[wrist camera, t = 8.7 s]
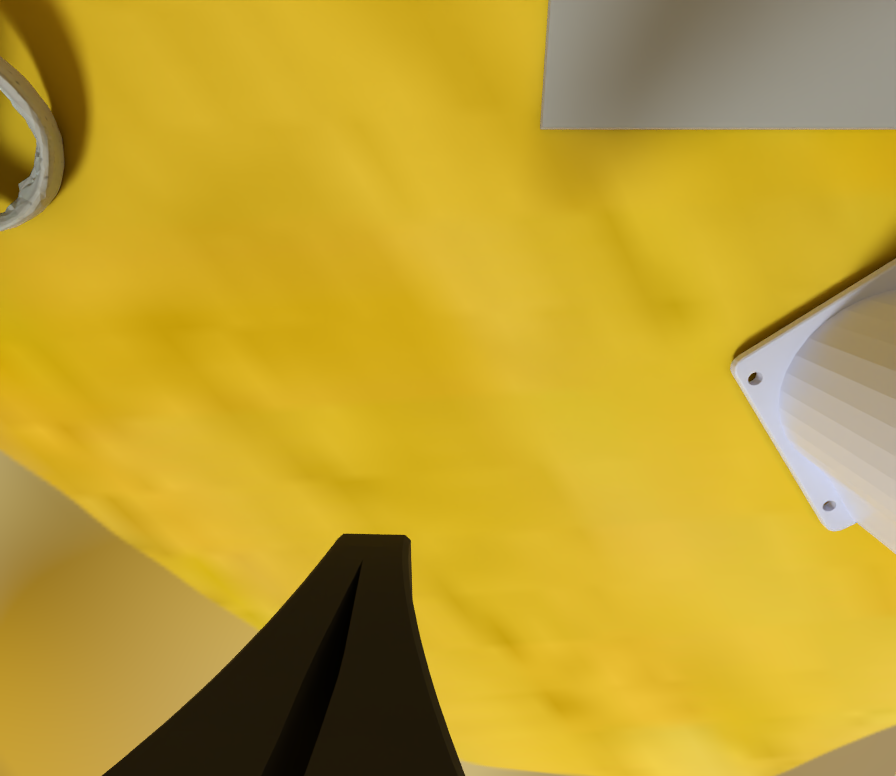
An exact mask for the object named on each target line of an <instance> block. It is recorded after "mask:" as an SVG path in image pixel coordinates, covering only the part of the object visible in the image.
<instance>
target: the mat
mask: <svg viewBox="0 0 896 776" xmlns="http://www.w3.org/2000/svg"><path fill="white" fill-rule="evenodd" d="M540 129H896V0H549V4H548V19H547V34H546V49H545V64H544V79H543V94H542V110H541V125H540Z"/></svg>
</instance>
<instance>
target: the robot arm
mask: <svg viewBox="0 0 896 776" xmlns="http://www.w3.org/2000/svg"><path fill="white" fill-rule="evenodd" d="M730 369H731V373H732V375H733V376H734V378H735V380H736V381H737V383H738V385H739V386H740V388H741V390H742V391H743V393H744V395H745V396H746V398H747V400H748V401H749V403H750V405H751V406H752V408H753V410H754V411H755V413H756V415H757V416H758V418H759V420H760V422H761V423H762V425H763V427H764V428H765V430H766V432H767V433H768V435H769V437H770V438H771V440H772V442H773V443H774V445H775V447H776V448H777V450H778V452H779V453H780V455H781V457H782V458H783V460H784V462H785V463H786V465H787V467H788V468H789V470H790V472H791V473H792V475H793V477H794V478H795V480H796V482H797V483H798V485H799V487H800V488H801V490H802V492H803V493H804V495H805V497H806V499H807V500H808V502H809V504H810V505H811V507H812V509H813V510H814V512H815V514H816V515H817V517H818V519H819V520H820V522H821V523H822V524H823V525H824V526H825V527H826V528H827V529H828V530H831V531H840V530H842V529H845V528H847V527H849V526H851V525H853V524H855V523H858V524H859V525H860V526H862V527H863V528H864V529H865V530H867V531H868V532H869V533H870V534H872V535H873V536H874V537H875V538H877V539H878V540H879V541H880V542H882V543H883V544H884V545H885V546H887V547H888V548H889V549H890V550H892V551H893V552H894V553H895V554H896V258H895V259H894V260H892V261H891V262H889V263H887V264H886V265H884V266H882V267H881V268H879V269H878V270H876V271H874V272H873V273H871V274H870V275H868V276H866V277H865V278H863V279H861V280H860V281H858V282H857V283H855V284H853V285H852V286H850V287H848V288H847V289H845V290H844V291H842V292H840V293H839V294H837V295H835V296H834V297H832V298H831V299H829V300H827V301H826V302H824V303H823V304H821V305H819V306H818V307H816V308H814V309H813V310H811V311H810V312H808V313H806V314H805V315H803V316H801V317H800V318H798V319H797V320H795V321H793V322H792V323H790V324H789V325H787V326H785V327H784V328H782V329H780V330H779V331H777V332H776V333H774V334H772V335H771V336H769V337H767V338H766V339H764V340H763V341H761V342H759V343H758V344H756V345H754V346H753V347H751V348H750V349H748V350H746V351H745V352H743V353H742V354H740V355H738V356H737V357H736V358H735V359H734V360H733V362H732V363H731V368H730ZM755 372H756V374H757V375H756V377H755V379H753V380H752V381H750V382H748V378H749V376H750V375H751V374H752V373H755ZM827 501H828V503H827V504H825V505H824V503H826V502H827ZM102 776H465V774H464V771H463V769H462V766H461V763H460V761H459V758H458V755H457V753H456V750H455V747H454V745H453V742H452V739H451V737H450V734H449V731H448V728H447V725H446V722H445V719H444V716H443V714H442V711H441V708H440V705H439V702H438V699H437V695H436V692H435V689H434V686H433V682H432V679H431V676H430V672H429V669H428V665H427V661H426V658H425V654H424V650H423V647H422V643H421V639H420V634H419V630H418V625H417V620H416V615H415V610H414V605H413V600H412V570H411V540H410V539H409V538H408V537H407V536H405V535H380V534H343V535H342V536H340V537H339V538H338V539H337V541H336V542H335V543H334V545H333V546H332V547H331V548H330V550H329V551H328V552H327V553H326V555H325V556H324V557H323V559H322V560H321V561H320V562H319V564H318V565H317V566H316V567H315V568H314V570H313V571H312V572H311V573H310V575H309V576H308V577H307V578H306V579H305V581H304V582H303V583H302V584H301V585H300V587H299V588H298V589H297V590H296V591H295V592H294V593H293V595H292V596H291V597H290V598H289V599H288V600H287V601H286V603H285V604H284V605H283V606H282V607H281V608H280V609H279V611H278V612H277V613H276V614H275V615H274V616H273V617H272V618H271V620H270V621H269V622H268V623H267V624H266V625H265V626H264V627H263V628H262V629H261V630H260V631H259V632H258V633H257V634H256V635H255V636H254V637H253V639H252V640H251V641H250V642H249V643H248V644H247V645H246V646H245V647H244V648H243V649H242V650H241V651H240V652H239V653H238V654H237V655H236V656H235V657H234V658H233V659H232V660H231V661H230V662H229V663H228V664H227V665H226V666H225V667H224V668H223V669H222V670H221V671H220V672H219V673H218V674H217V675H216V676H215V677H214V678H213V679H212V680H211V681H210V682H209V683H208V684H207V685H206V686H205V687H204V688H203V689H201V691H199V692H198V693H197V694H196V695H195V696H194V697H193V698H192V699H191V700H190V701H188V702H187V703H186V704H185V705H184V706H183V707H182V708H181V709H180V710H179V711H177V712H176V713H175V714H174V715H173V716H172V717H171V718H170V719H169V720H167V721H166V722H165V723H164V724H163V725H162V726H160V727H159V728H158V729H157V730H156V731H155V732H153V733H152V734H151V735H150V736H149V737H148V738H147V739H145V740H144V741H143V742H142V743H140V744H139V745H138V746H137V747H136V748H135V749H133V750H132V751H131V752H130V753H129V754H128V755H127V756H125V757H124V758H123V759H122V760H121V761H119V762H118V763H117V764H116V765H114V766H113V767H112V768H111V769H109V770H108V771H107V772H106V773H105V774H103V775H102Z"/></svg>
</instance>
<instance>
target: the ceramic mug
mask: <svg viewBox="0 0 896 776" xmlns="http://www.w3.org/2000/svg"><path fill="white" fill-rule="evenodd" d="M0 90H1V91H2V92H3V93H4V94H5V95H6V96H7V98H8V99H9V100H10V101H11V103H12V105H13V107H14V108H15V109H16V110H17V111H18V112H19V113H20V114H21V115H22V116H23V117H24V118H25V120H26V121H27V124H28V126H29V128H30V129H31V131H32V132H33V134H34V136H35V138H36V140H37V147H36V154H35V162H34V167H33V170H32V172H31V174H30V176H29V177H28V178H27V179H25V180H24V181H22V182H21V183H19V184H18V185H19V190H20V192H19V196H18V198H17V199H16V200H15V201H14V202H13V203H11V204H10V205H9V206H8V207H7V209H6V211H5V212H3V213H0V231H3V230H7V229H10V228H14V227H17V226H19V225H21V224H23V223H24V222H26V221H28V220H30V219H32V218H34V217H35V216H37V215H38V214H39V213H41V212H42V211H43V210H44V209H45V208H46V207H47V206H48V205H49V203H50V202H51V201H52V200H53V199H54V197H55V196H56V195H57V193H58V191H59V188H60V186H61V181H62V177H63V171H64V150H63V139H62V136H61V134H60V131H59V128H58V125H57V123H56V120H55V118H54V116H53V114H52V112H51V111H50V109H49V107H48V106H47V104H46V103H45V102H44V101H43V99H42V98H41V97H40V96H39V94H38V93H37V92H36V90H35V89H34V88H33V87H32V85H31V84H30V83H29V82H28V81H27V80H26V78H25V77H24V76H23V75H21V74H20V73H19V72H18V71H17V70H16V69H15V68H14V67H13V66H11V65H10V64H9V63H8V62H7V61H5V60H4V59H3V58H2V57H1V56H0Z"/></svg>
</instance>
